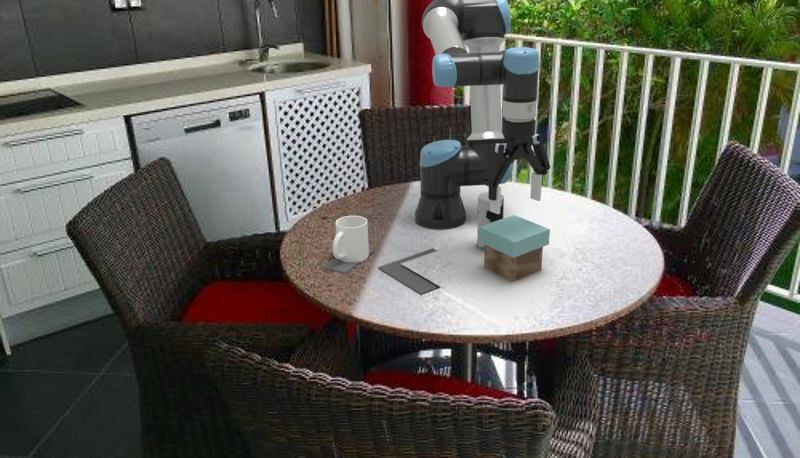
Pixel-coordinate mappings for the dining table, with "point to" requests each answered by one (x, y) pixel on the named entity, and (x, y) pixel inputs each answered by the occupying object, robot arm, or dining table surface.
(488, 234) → the lid
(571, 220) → the dining table surface
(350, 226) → the mug
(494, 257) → the box
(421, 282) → the mat
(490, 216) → the printed grey cylinder
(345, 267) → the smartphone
